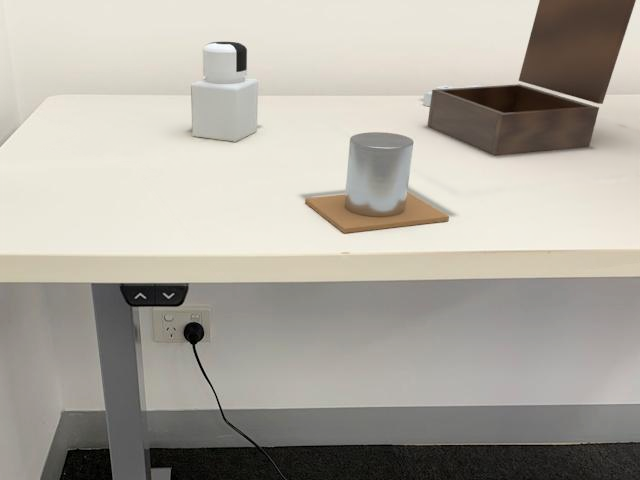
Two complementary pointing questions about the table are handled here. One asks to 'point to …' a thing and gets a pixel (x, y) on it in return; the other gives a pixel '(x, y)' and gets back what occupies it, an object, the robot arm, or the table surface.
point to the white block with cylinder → (224, 94)
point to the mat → (353, 222)
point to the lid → (576, 46)
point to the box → (512, 119)
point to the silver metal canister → (378, 174)
